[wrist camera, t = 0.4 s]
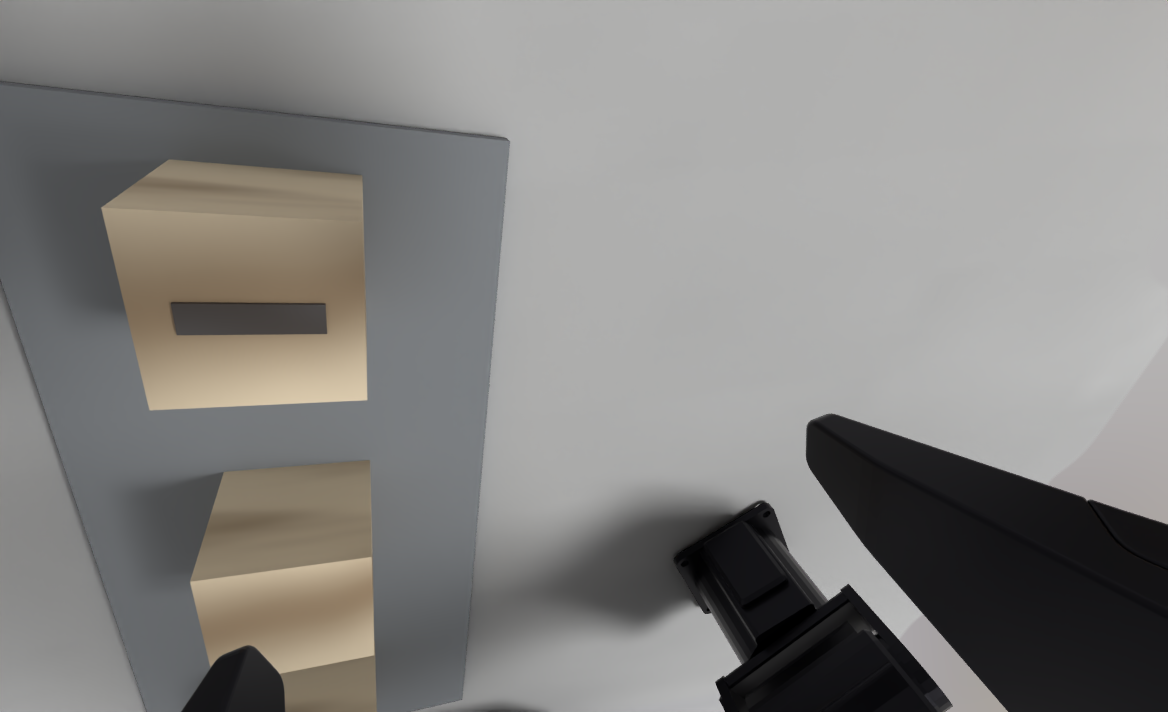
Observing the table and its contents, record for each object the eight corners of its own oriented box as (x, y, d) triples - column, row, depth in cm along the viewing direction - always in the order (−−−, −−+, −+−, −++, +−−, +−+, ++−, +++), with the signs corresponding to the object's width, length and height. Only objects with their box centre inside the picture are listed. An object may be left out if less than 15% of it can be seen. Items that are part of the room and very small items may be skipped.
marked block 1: (366, 322, 20) (367, 402, 16) (194, 322, 18) (143, 413, 14) (362, 175, 18) (361, 223, 13) (164, 159, 16) (93, 208, 12)
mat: (460, 689, 33) (462, 699, 32) (169, 754, 28) (165, 768, 27) (505, 137, 19) (509, 141, 18) (-54, 75, 14) (-69, 77, 14)
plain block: (372, 550, 25) (374, 655, 21) (241, 568, 23) (214, 686, 19) (369, 460, 23) (371, 557, 19) (223, 471, 21) (190, 581, 17)
